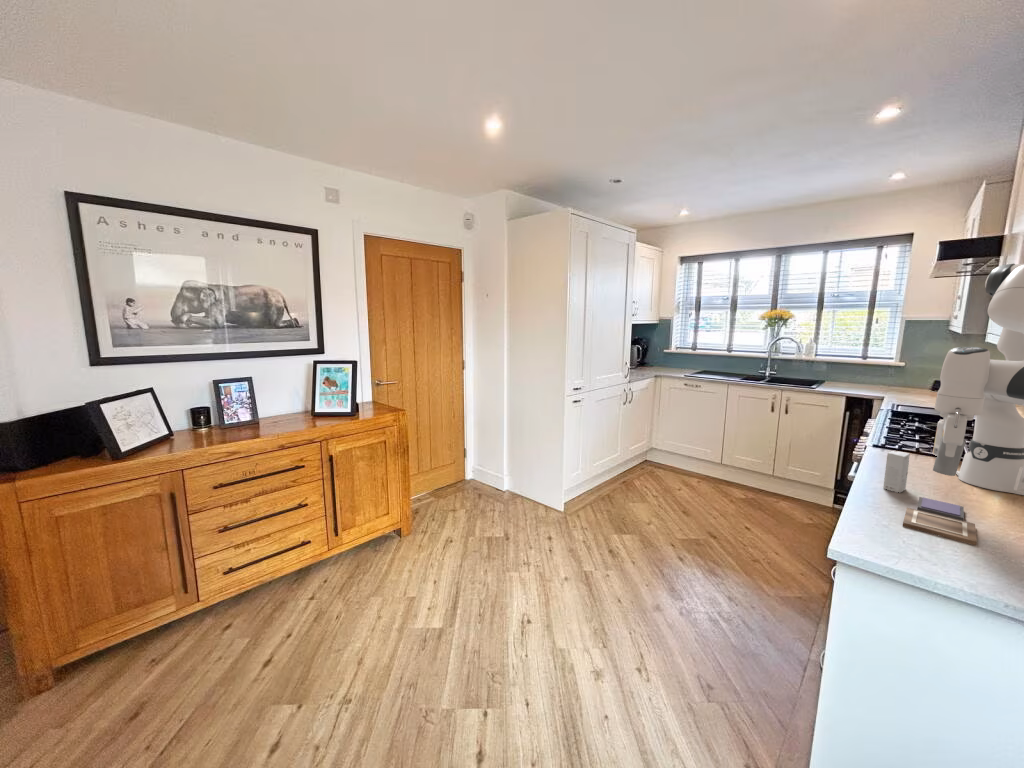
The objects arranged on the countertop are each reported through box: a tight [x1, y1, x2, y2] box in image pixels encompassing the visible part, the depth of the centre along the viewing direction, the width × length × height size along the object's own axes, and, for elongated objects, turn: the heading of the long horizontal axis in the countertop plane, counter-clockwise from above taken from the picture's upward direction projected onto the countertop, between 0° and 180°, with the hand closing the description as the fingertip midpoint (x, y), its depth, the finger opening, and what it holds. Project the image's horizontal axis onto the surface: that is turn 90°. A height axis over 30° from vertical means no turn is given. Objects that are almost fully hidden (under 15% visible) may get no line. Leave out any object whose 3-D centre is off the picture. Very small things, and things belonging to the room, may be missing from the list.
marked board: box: [902, 507, 978, 546], centre depth 107 cm, size 13×13×1 cm
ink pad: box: [916, 496, 965, 521], centre depth 116 cm, size 10×9×2 cm
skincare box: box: [882, 450, 911, 493], centre depth 131 cm, size 6×4×12 cm
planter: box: [932, 436, 967, 477], centre depth 114 cm, size 4×4×10 cm
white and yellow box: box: [932, 418, 944, 457], centre depth 161 cm, size 6×6×15 cm
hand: (949, 454), depth 114 cm, fingers closed on planter, 4 cm apart
